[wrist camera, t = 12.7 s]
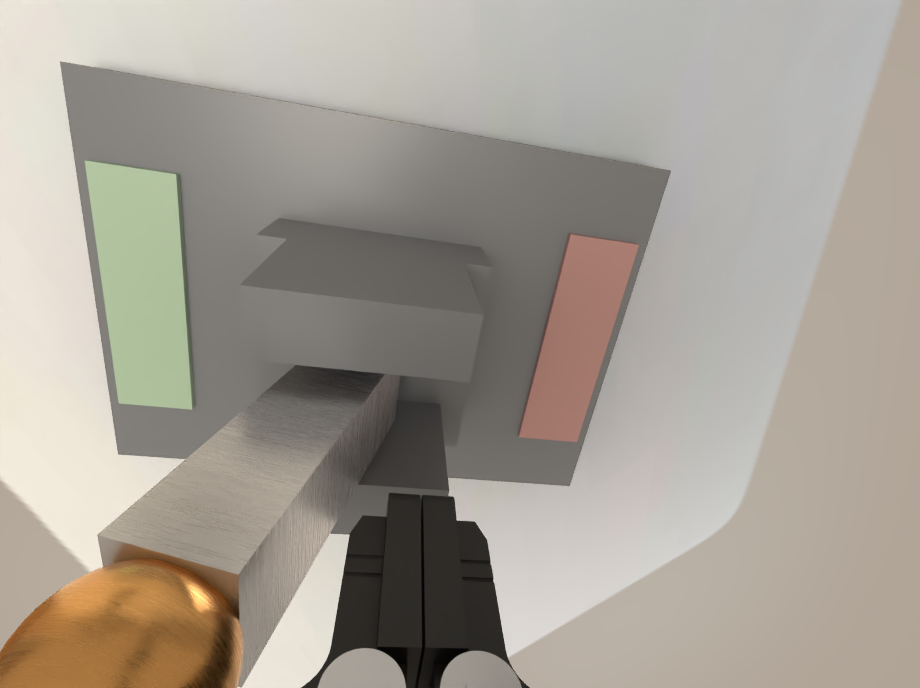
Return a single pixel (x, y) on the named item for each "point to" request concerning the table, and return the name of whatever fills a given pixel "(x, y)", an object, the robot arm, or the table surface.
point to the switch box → (351, 275)
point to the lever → (212, 546)
